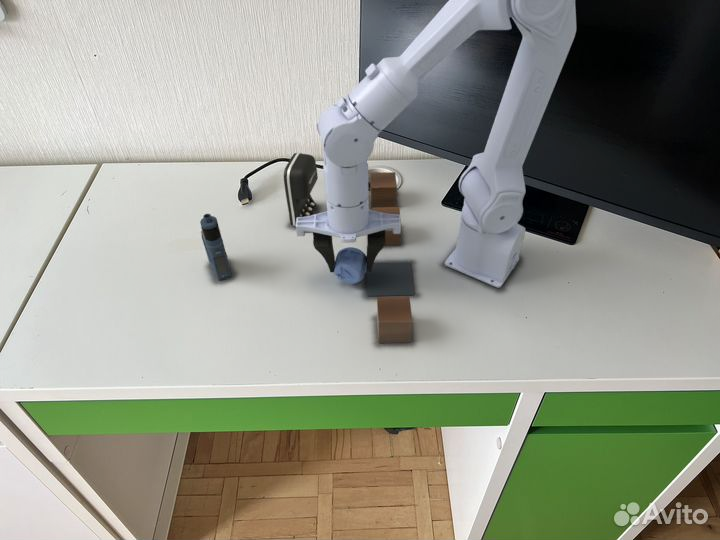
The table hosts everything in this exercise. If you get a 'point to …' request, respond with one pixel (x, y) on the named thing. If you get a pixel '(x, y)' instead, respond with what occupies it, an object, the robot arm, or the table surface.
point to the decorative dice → (350, 265)
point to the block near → (394, 319)
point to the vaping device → (215, 247)
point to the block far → (383, 189)
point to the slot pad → (390, 279)
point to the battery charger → (300, 186)
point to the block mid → (389, 235)
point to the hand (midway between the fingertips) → (350, 267)
